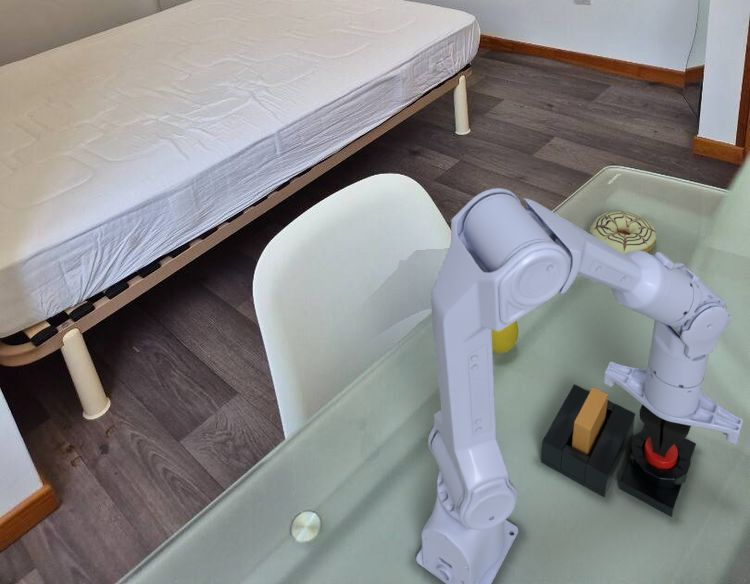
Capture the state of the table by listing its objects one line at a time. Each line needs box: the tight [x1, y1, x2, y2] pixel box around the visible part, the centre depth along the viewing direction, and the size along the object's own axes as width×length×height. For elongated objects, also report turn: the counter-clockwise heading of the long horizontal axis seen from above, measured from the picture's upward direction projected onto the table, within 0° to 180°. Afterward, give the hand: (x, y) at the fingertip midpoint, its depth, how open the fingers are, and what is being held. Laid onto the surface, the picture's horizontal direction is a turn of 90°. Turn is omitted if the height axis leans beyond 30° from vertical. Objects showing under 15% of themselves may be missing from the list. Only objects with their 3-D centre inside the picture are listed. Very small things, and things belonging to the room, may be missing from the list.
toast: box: [572, 387, 609, 457], centre depth 85 cm, size 6×2×6 cm, turn 143°
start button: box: [644, 437, 678, 470], centre depth 82 cm, size 4×4×2 cm
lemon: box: [492, 320, 519, 354], centre depth 99 cm, size 6×6×8 cm
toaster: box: [540, 383, 636, 498], centre depth 85 cm, size 10×8×4 cm
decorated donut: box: [589, 210, 657, 254], centre depth 120 cm, size 10×11×4 cm
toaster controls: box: [618, 424, 697, 518], centre depth 83 cm, size 10×6×3 cm, turn 143°
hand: (661, 448), depth 82 cm, fingers closed, pressing on start button
